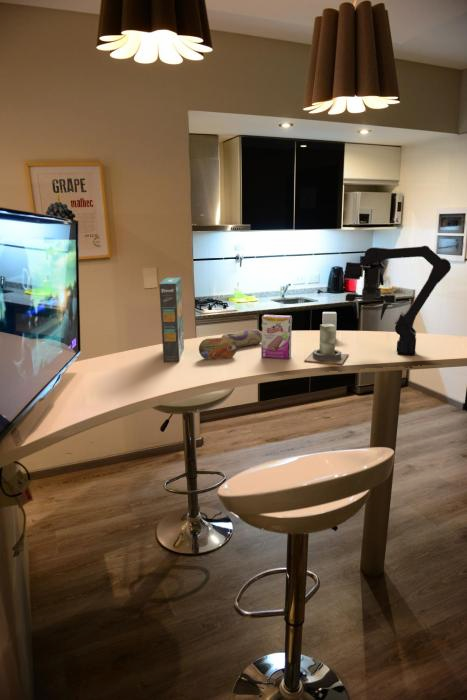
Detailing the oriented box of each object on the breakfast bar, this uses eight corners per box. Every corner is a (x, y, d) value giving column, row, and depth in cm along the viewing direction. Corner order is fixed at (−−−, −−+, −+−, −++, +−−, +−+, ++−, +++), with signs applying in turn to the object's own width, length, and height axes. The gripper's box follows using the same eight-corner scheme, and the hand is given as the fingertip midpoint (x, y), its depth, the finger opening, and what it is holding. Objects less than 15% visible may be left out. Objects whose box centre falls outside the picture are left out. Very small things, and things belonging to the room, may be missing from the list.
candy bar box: (261, 358, 180) (260, 316, 176) (263, 354, 184) (263, 314, 180) (289, 359, 177) (290, 317, 173) (291, 356, 182) (292, 315, 177)
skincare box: (335, 337, 211) (336, 311, 208) (336, 339, 207) (337, 313, 204) (321, 337, 212) (322, 311, 209) (322, 339, 208) (323, 313, 205)
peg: (330, 355, 179) (331, 323, 176) (334, 358, 175) (335, 326, 172) (319, 356, 179) (320, 324, 176) (323, 359, 174) (324, 326, 171)
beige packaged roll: (252, 341, 207) (252, 327, 205) (263, 345, 201) (263, 330, 199) (203, 350, 193) (203, 335, 191) (213, 354, 187) (212, 338, 185)
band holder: (348, 355, 181) (348, 349, 180) (342, 365, 168) (342, 358, 168) (312, 352, 186) (313, 346, 185) (304, 361, 173) (304, 355, 173)
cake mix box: (169, 348, 197) (166, 277, 190) (184, 348, 197) (180, 277, 190) (163, 362, 176) (159, 283, 169) (179, 362, 176) (175, 283, 169)
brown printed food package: (200, 361, 177) (199, 339, 175) (198, 359, 180) (197, 338, 178) (237, 357, 181) (237, 336, 179) (235, 355, 184) (235, 335, 182)
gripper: (343, 281, 177) (342, 321, 181) (395, 282, 170) (392, 324, 174) (348, 278, 187) (346, 316, 191) (397, 279, 180) (394, 319, 184)
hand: (369, 319), depth 185 cm, fingers open, 9 cm apart
